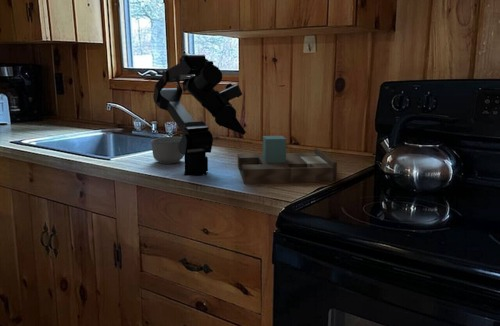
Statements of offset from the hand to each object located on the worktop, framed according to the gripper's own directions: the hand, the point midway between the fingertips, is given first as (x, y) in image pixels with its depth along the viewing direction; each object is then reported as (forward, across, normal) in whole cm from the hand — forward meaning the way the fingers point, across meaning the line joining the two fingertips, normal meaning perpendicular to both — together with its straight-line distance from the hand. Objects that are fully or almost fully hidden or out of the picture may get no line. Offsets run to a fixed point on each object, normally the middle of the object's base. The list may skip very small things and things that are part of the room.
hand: (244, 132), depth 136 cm
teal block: (+12, 0, 0) cm, 12 cm away
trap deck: (+17, 0, 0) cm, 17 cm away
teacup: (-7, +21, +26) cm, 34 cm away
